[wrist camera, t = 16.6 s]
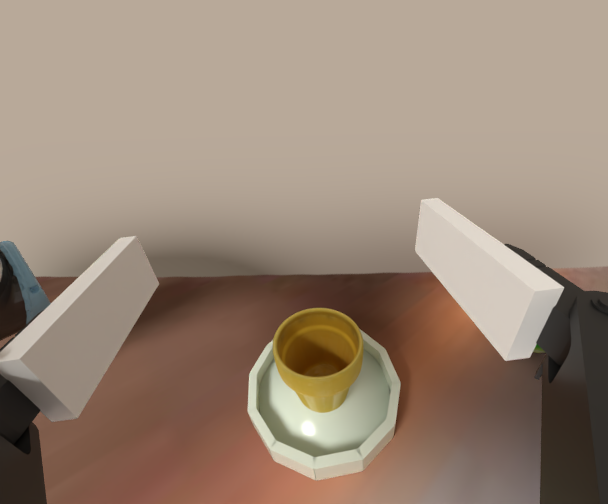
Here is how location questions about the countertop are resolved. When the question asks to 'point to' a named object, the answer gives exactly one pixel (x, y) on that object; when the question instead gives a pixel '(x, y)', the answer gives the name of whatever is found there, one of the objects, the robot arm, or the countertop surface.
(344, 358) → the plant pot
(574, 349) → the robot arm
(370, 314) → the countertop surface
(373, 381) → the sage basin
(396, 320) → the countertop surface
